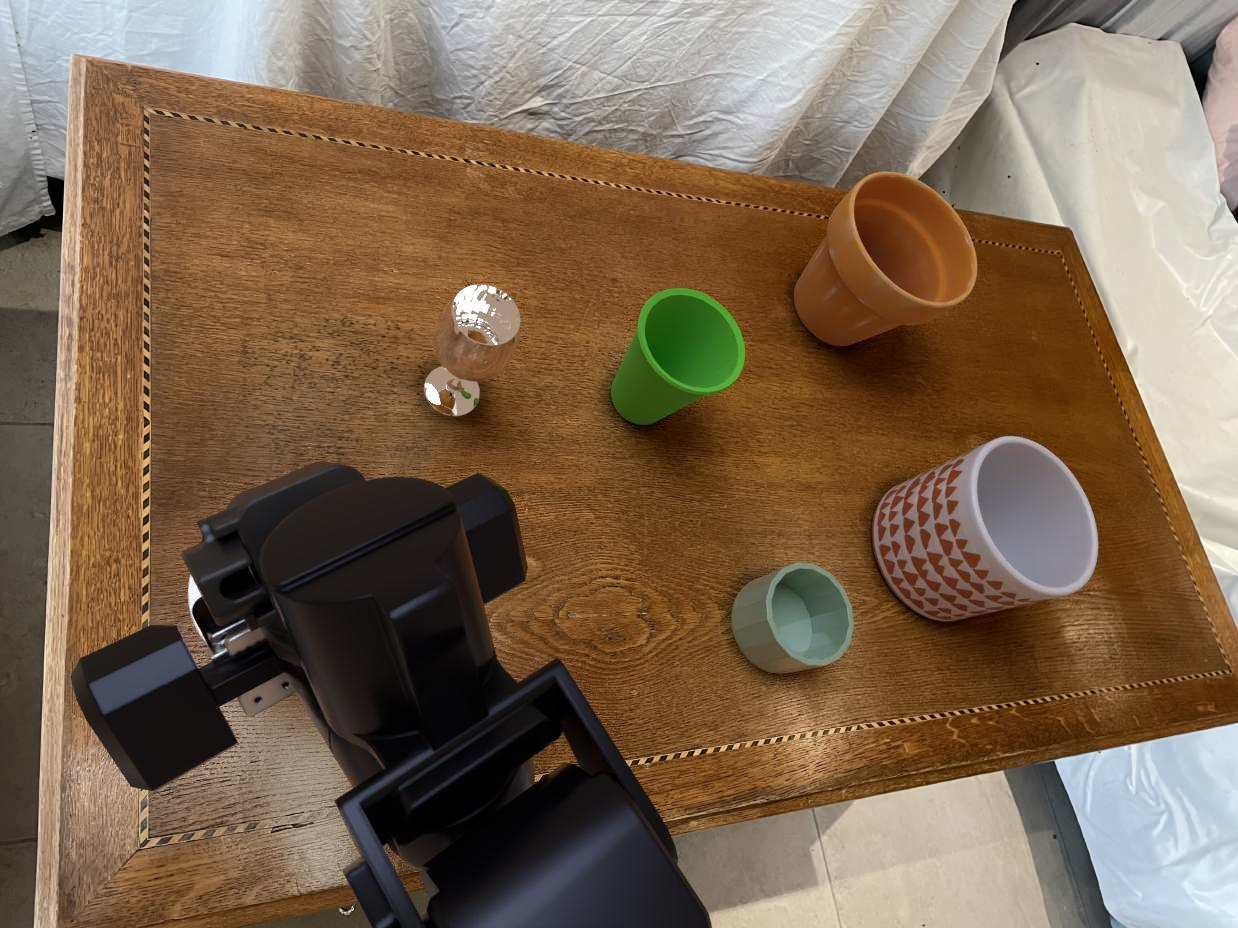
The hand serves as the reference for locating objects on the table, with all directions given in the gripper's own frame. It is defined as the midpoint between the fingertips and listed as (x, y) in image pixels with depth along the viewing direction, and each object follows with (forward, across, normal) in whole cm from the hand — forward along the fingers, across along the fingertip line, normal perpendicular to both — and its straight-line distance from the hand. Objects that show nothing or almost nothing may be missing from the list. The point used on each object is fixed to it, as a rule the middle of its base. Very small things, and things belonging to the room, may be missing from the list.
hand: (273, 538), depth 41 cm
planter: (-7, -52, +27) cm, 59 cm away
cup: (+11, -33, +9) cm, 35 cm away
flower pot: (+11, -59, +9) cm, 60 cm away
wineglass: (+16, -18, +4) cm, 24 cm away
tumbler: (-5, -32, +24) cm, 41 cm away
